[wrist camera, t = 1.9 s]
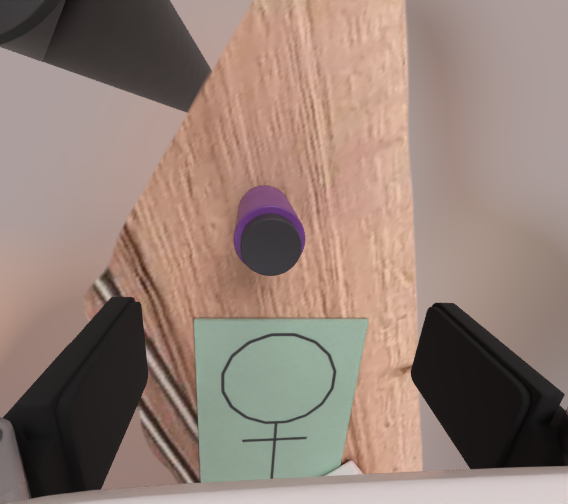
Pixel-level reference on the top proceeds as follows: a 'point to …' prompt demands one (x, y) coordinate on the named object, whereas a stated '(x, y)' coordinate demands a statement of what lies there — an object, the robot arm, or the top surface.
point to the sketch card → (274, 395)
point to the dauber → (268, 232)
